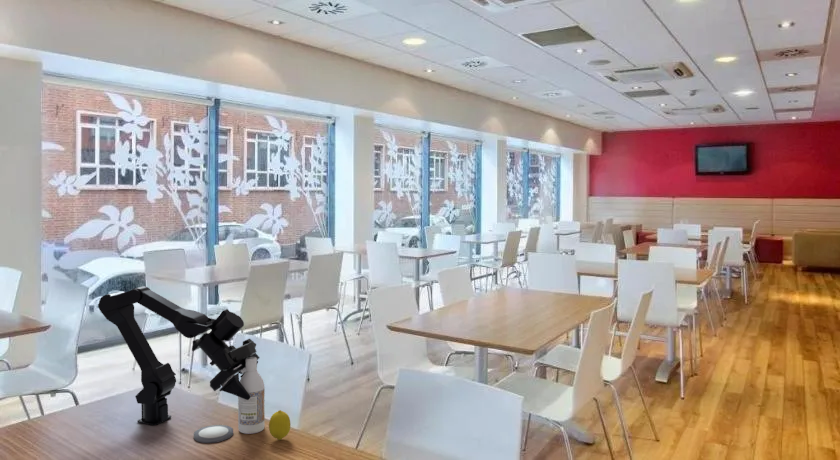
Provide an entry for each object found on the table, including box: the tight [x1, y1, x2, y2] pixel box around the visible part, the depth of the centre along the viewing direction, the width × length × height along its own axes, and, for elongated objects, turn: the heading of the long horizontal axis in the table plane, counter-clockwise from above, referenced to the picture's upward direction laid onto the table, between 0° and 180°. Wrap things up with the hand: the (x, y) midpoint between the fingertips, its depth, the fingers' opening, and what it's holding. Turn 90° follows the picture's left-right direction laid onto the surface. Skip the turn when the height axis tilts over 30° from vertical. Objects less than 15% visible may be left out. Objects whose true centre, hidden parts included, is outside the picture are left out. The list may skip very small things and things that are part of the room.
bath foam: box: [237, 357, 266, 435], centre depth 165 cm, size 7×7×20 cm
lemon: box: [268, 409, 291, 441], centre depth 159 cm, size 6×6×8 cm
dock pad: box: [193, 424, 234, 444], centre depth 161 cm, size 10×10×1 cm
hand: (256, 393), depth 164 cm, fingers open, 8 cm apart
